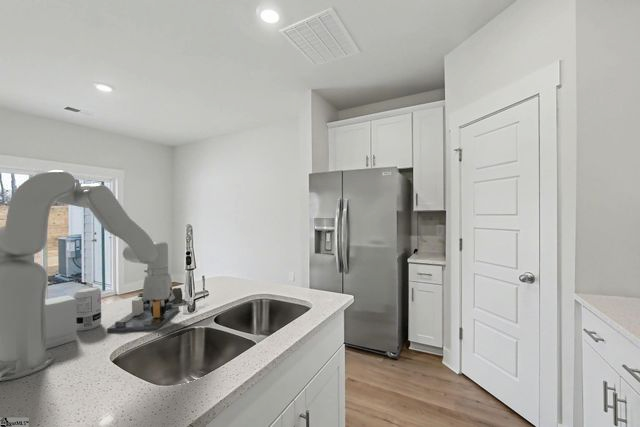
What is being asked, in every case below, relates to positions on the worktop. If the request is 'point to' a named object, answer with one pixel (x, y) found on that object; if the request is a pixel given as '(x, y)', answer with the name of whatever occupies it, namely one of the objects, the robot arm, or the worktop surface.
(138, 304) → the cream fader
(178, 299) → the beverage carton
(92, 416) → the worktop surface
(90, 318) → the supplement can
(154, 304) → the orange fader
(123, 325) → the console
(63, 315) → the supplement box
